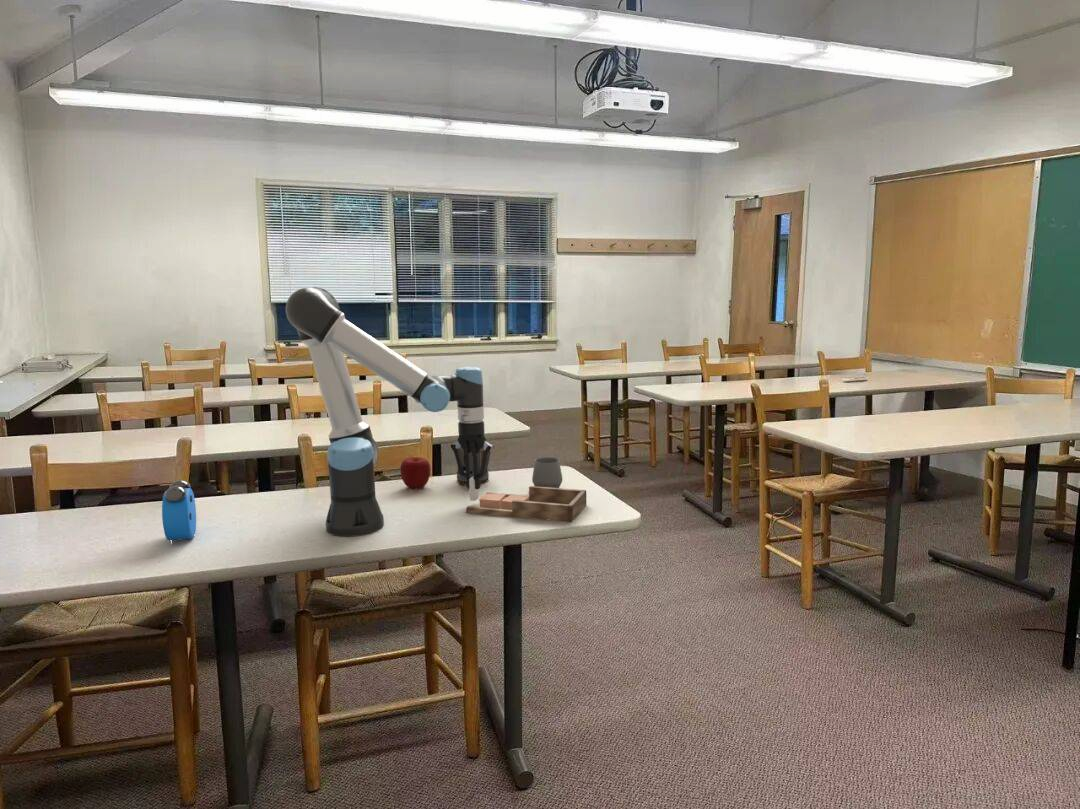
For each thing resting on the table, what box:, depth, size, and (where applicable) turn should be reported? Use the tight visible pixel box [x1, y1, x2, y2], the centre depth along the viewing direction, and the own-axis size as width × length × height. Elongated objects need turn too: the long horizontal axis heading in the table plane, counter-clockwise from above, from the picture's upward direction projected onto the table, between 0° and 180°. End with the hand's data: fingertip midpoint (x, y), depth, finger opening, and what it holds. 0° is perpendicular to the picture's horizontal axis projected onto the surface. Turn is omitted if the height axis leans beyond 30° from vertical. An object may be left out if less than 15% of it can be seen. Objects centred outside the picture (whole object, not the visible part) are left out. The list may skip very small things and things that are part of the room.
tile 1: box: [479, 493, 506, 509], centre depth 208 cm, size 6×6×3 cm
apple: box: [399, 456, 431, 490], centre depth 227 cm, size 10×10×10 cm
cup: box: [531, 456, 563, 488], centre depth 221 cm, size 10×9×10 cm
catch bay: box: [465, 485, 587, 523], centre depth 204 cm, size 31×15×4 cm, turn 72°
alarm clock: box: [161, 479, 197, 542], centre depth 184 cm, size 13×6×15 cm, turn 18°
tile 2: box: [501, 494, 529, 510], centre depth 206 cm, size 6×6×3 cm
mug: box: [456, 446, 490, 486], centre depth 231 cm, size 16×11×15 cm
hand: (474, 499), depth 210 cm, fingers closed
